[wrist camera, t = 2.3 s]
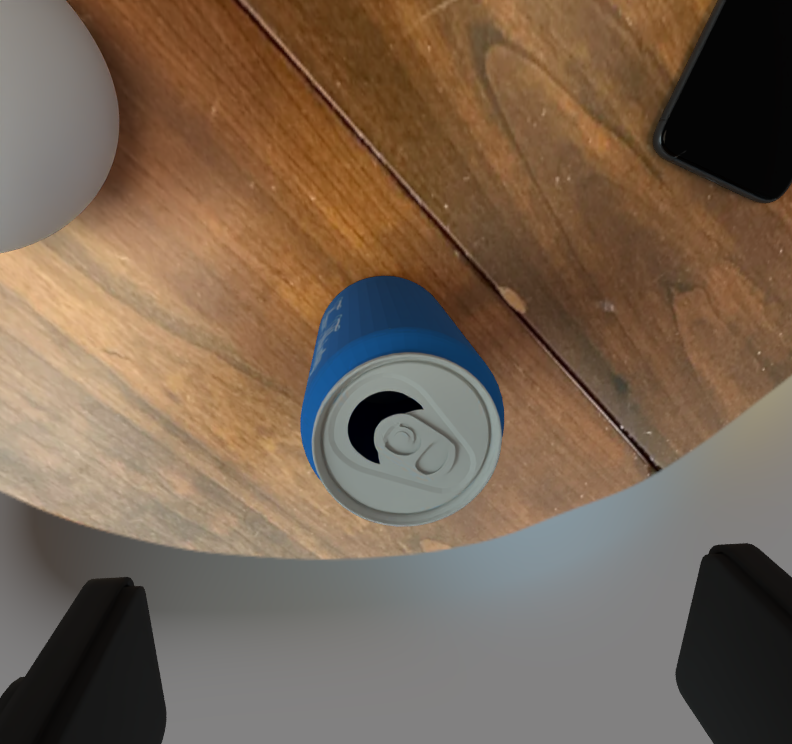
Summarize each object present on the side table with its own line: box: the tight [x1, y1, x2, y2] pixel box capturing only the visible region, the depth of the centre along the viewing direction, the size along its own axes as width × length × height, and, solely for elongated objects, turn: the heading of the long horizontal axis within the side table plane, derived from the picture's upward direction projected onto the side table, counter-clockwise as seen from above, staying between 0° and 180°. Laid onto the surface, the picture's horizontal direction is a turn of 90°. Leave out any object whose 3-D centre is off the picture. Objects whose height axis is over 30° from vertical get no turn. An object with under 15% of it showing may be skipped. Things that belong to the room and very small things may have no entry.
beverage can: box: [301, 276, 504, 526], centre depth 21 cm, size 6×6×12 cm
